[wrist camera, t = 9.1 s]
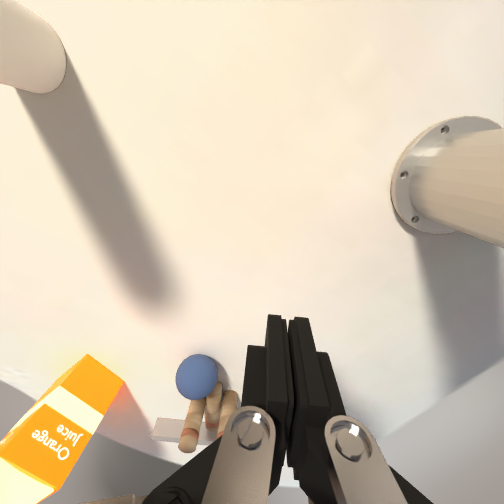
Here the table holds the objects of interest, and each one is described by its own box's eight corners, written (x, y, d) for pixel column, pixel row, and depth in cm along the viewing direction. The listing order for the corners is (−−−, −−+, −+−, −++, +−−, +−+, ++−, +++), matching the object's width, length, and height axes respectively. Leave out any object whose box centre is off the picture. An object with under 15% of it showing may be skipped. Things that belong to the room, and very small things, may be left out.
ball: (212, 401, 39) (230, 365, 39) (192, 416, 33) (213, 374, 33) (183, 378, 41) (200, 344, 41) (159, 388, 35) (180, 349, 36)
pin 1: (208, 387, 42) (196, 442, 34) (208, 398, 43) (196, 454, 35) (193, 386, 42) (177, 440, 34) (193, 397, 43) (178, 452, 35)
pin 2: (238, 390, 42) (233, 445, 34) (237, 401, 43) (232, 457, 35) (223, 389, 42) (215, 444, 34) (222, 400, 43) (214, 455, 35)
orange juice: (125, 381, 42) (17, 562, 23) (93, 405, 44) (-28, 587, 26) (86, 352, 40) (-66, 525, 21) (55, 379, 42) (-107, 556, 24)
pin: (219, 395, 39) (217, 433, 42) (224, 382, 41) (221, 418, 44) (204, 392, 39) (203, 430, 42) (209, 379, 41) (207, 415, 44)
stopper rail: (270, 428, 45) (270, 446, 42) (269, 433, 45) (269, 451, 43) (157, 417, 45) (150, 435, 42) (158, 422, 45) (151, 440, 42)
